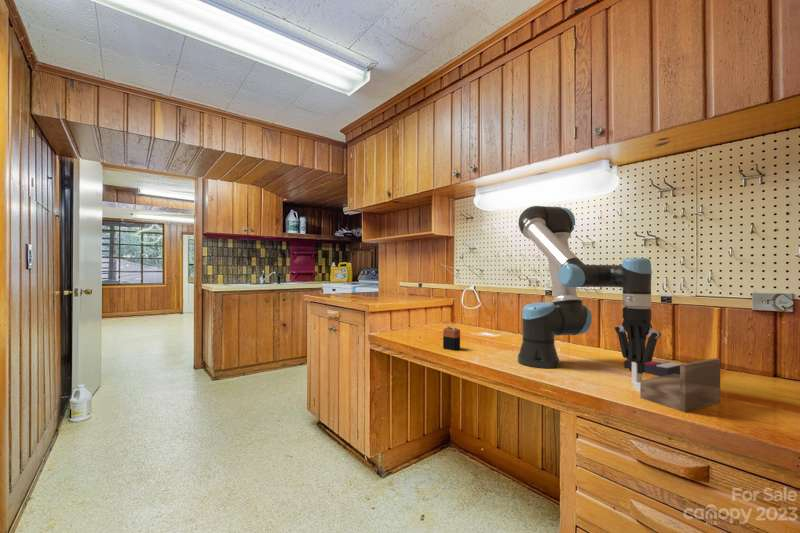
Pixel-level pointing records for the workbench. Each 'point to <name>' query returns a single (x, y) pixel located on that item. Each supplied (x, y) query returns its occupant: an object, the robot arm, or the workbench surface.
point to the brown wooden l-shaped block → (685, 386)
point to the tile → (636, 386)
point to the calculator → (659, 367)
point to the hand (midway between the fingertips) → (636, 382)
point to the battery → (451, 338)
